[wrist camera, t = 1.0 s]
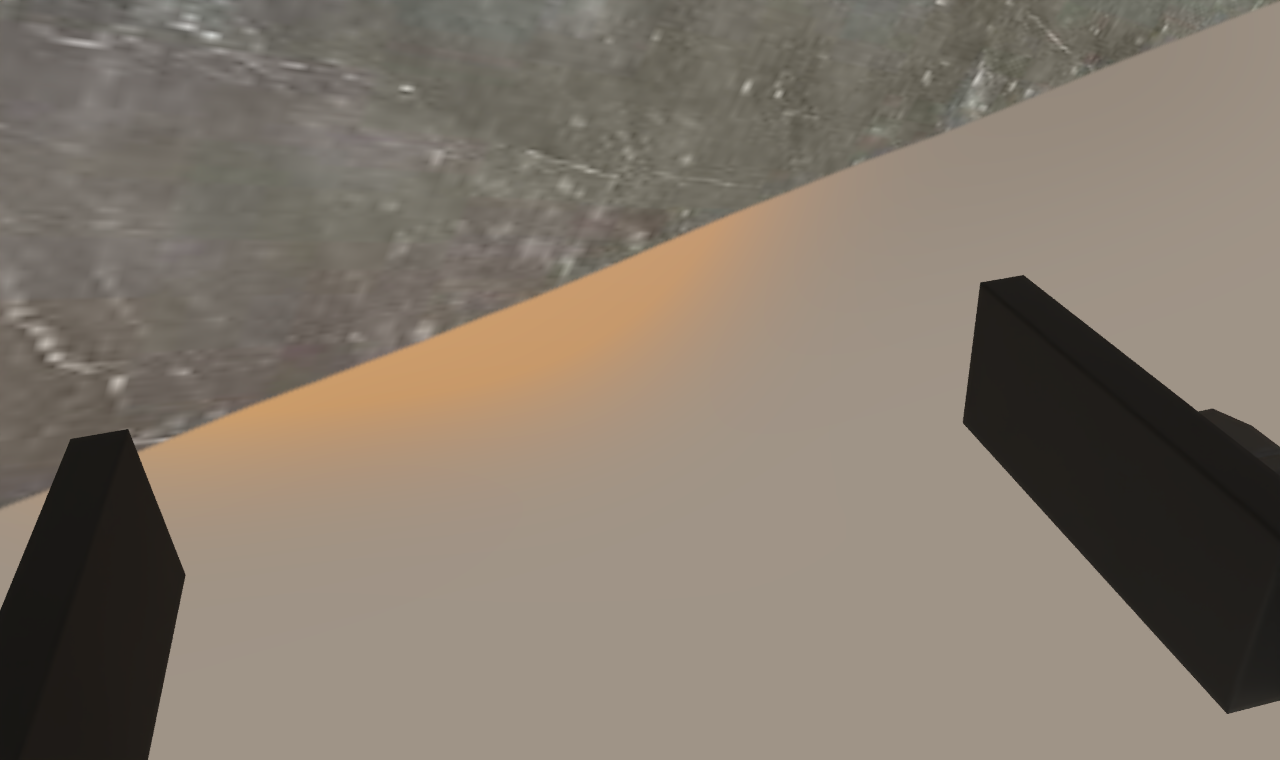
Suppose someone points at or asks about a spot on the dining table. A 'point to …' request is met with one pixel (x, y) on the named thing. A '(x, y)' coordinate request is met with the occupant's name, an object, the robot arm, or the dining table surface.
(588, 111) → the dining table surface
